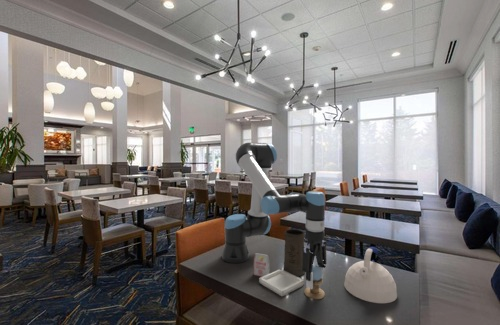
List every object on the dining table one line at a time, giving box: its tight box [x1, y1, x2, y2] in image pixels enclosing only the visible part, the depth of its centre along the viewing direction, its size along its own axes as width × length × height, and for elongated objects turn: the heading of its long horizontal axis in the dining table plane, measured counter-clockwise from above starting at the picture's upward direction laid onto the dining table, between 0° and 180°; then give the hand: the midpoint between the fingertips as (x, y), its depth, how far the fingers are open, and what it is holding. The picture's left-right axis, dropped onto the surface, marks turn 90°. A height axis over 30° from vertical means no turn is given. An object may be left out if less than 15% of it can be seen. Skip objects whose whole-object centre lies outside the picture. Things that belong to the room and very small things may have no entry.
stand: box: [304, 278, 326, 300], centre depth 101 cm, size 8×8×7 cm
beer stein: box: [282, 229, 306, 277], centre depth 123 cm, size 15×11×20 cm
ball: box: [312, 264, 322, 281], centre depth 101 cm, size 6×6×6 cm
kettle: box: [343, 246, 398, 304], centre depth 104 cm, size 20×21×18 cm
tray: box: [258, 268, 305, 297], centre depth 109 cm, size 14×14×2 cm
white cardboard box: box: [253, 252, 271, 277], centre depth 117 cm, size 4×7×10 cm, turn 65°
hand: (314, 284), depth 101 cm, fingers closed on ball, stand, 6 cm apart
